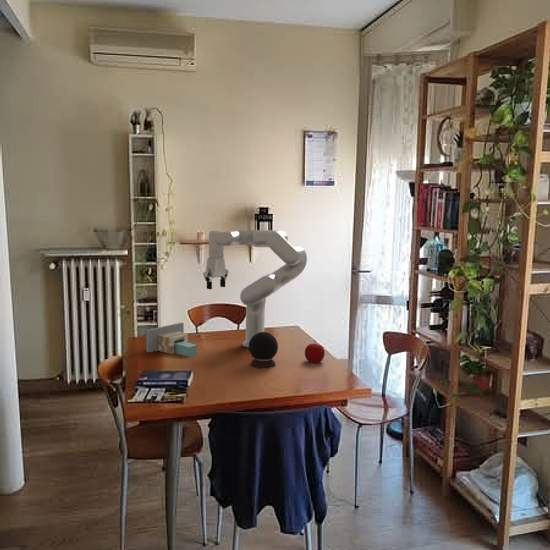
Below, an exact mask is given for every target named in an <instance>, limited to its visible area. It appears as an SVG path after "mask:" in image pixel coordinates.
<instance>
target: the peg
mask: <svg viewBox="0 0 550 550" xmlns="http://www.w3.org/2000/svg"><path fill="white" fill-rule="evenodd" d="M173 354H176V355H180V354H181V356H184V357H188V358H191V357H195V356H197V355H198V345H197V344H194V343H191V342H188V343H187V342H183V341H179V340H177V341H174V353H173Z"/></svg>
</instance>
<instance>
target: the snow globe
mask: <svg viewBox="0 0 550 550" xmlns="http://www.w3.org/2000/svg"><path fill="white" fill-rule="evenodd" d="M278 350H279V344H278V341H277V339H276V337H275V336H274V335H273V334H271V333H270V332H268V331H267V332H266V331H264V332H259V333H257V334H255V335H254V336H253V337H252V338H251V340H250V342H249V348H248V351H249V354H250V355H251V356H252V358H253V359H252V360H251V361H250V366H251V367H252V366H253V368H255V367H258V368H257V369H261V368H266V369H270V368H269V367H272V368H274V367H276V361H275V360H274V359H273V358H275V356H276V355H277V352H278ZM273 366H274V367H273Z"/></svg>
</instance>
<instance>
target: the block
mask: <svg viewBox="0 0 550 550" xmlns="http://www.w3.org/2000/svg"><path fill="white" fill-rule="evenodd" d="M177 340H179V341H183V342H187V343H189V334H188V333H185V332H184V333H182V332H178V331H173V332H169V333H165V334H160V335H158V351H159V352H162V353H165V354H170V355H172V354H175V353H174V341H177ZM158 351H157V352H158Z"/></svg>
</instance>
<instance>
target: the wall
mask: <svg viewBox="0 0 550 550" xmlns="http://www.w3.org/2000/svg"><path fill="white" fill-rule="evenodd" d="M184 324H185V323H184V322H177V323H174V324H168V325H164V326H163V325H162V326H159V327H154V328H150V329H146V330H145V332H146V333H145V336H146V337H145V340H146V342H145V343H146V346H145V347H146V351H145V352H146V353H147V352H151V353H154V352H153V351H155V352H158V335H160V334H165V333H169V332H173V331H178V332H182V333H185V332H184V329H185V328H184V327H185V326H184Z"/></svg>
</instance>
